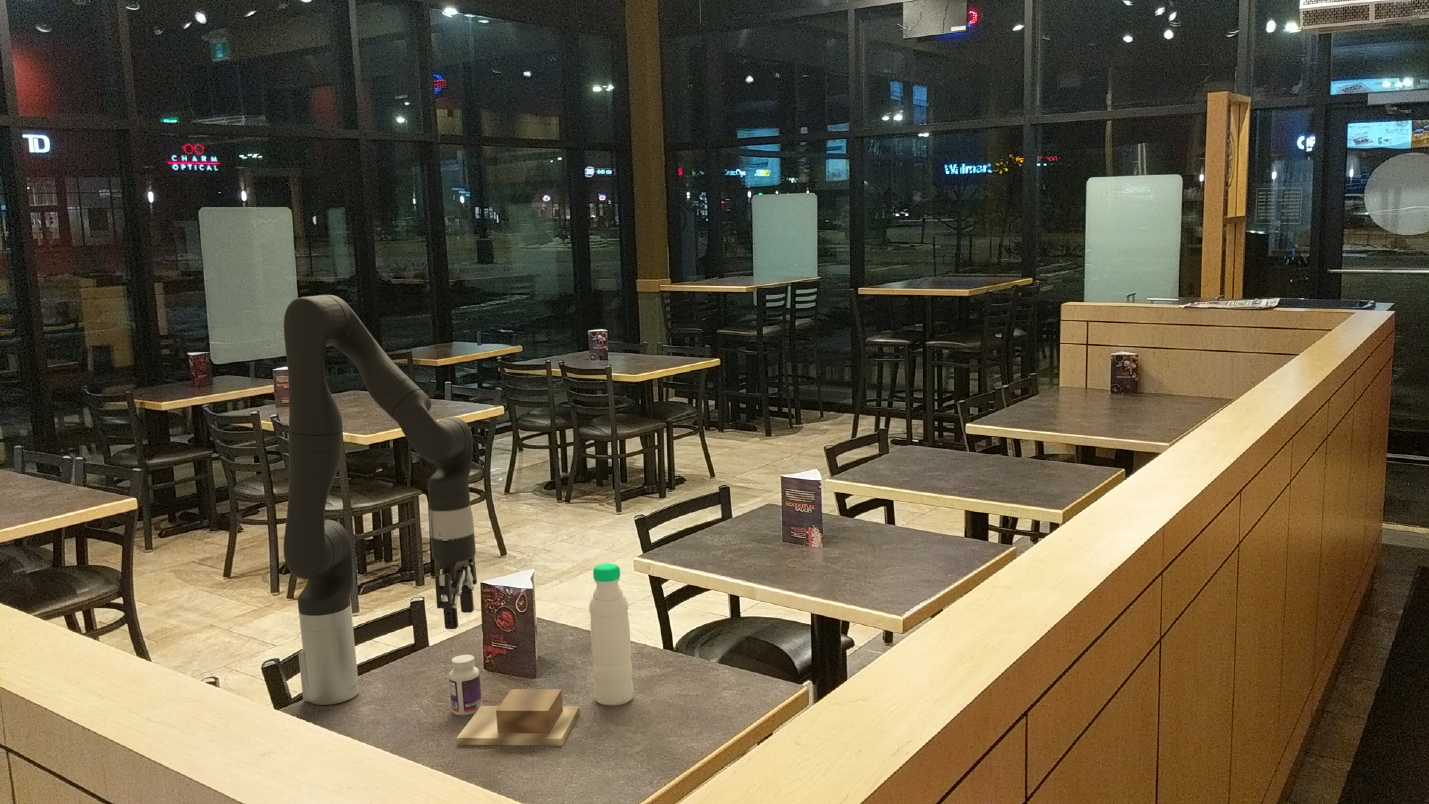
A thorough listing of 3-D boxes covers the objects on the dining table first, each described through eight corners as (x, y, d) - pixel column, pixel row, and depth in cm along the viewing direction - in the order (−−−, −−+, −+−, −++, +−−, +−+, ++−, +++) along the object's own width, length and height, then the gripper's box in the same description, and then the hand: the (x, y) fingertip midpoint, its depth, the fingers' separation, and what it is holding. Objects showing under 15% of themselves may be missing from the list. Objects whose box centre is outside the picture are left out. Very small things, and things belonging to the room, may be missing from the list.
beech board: (457, 744, 194) (456, 737, 193) (481, 712, 206) (480, 705, 206) (561, 745, 191) (561, 738, 191) (579, 712, 204) (579, 706, 204)
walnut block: (497, 733, 195) (495, 710, 194) (513, 710, 203) (511, 689, 203) (549, 733, 193) (548, 710, 193) (562, 711, 202) (561, 689, 202)
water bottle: (587, 703, 208) (578, 569, 204) (608, 689, 214) (600, 558, 210) (620, 709, 205) (612, 573, 201) (641, 694, 211) (633, 562, 207)
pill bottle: (486, 703, 210) (482, 652, 209) (477, 716, 205) (473, 664, 203) (457, 703, 211) (453, 653, 209) (447, 716, 205) (443, 664, 204)
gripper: (445, 521, 210) (453, 607, 213) (416, 543, 196) (425, 634, 199) (485, 520, 209) (492, 606, 212) (459, 542, 195) (467, 634, 198)
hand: (459, 620), depth 205 cm, fingers open, 8 cm apart
